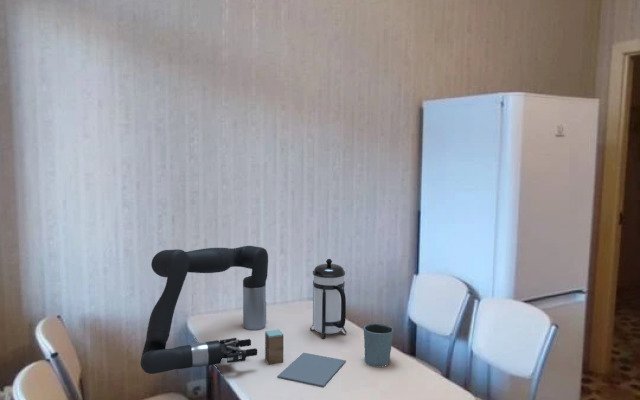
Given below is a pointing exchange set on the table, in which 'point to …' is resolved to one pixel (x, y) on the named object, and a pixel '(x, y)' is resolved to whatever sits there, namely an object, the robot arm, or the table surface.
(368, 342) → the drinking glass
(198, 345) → the robot arm
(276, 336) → the walnut block
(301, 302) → the table surface
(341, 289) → the coffee press
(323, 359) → the mat
